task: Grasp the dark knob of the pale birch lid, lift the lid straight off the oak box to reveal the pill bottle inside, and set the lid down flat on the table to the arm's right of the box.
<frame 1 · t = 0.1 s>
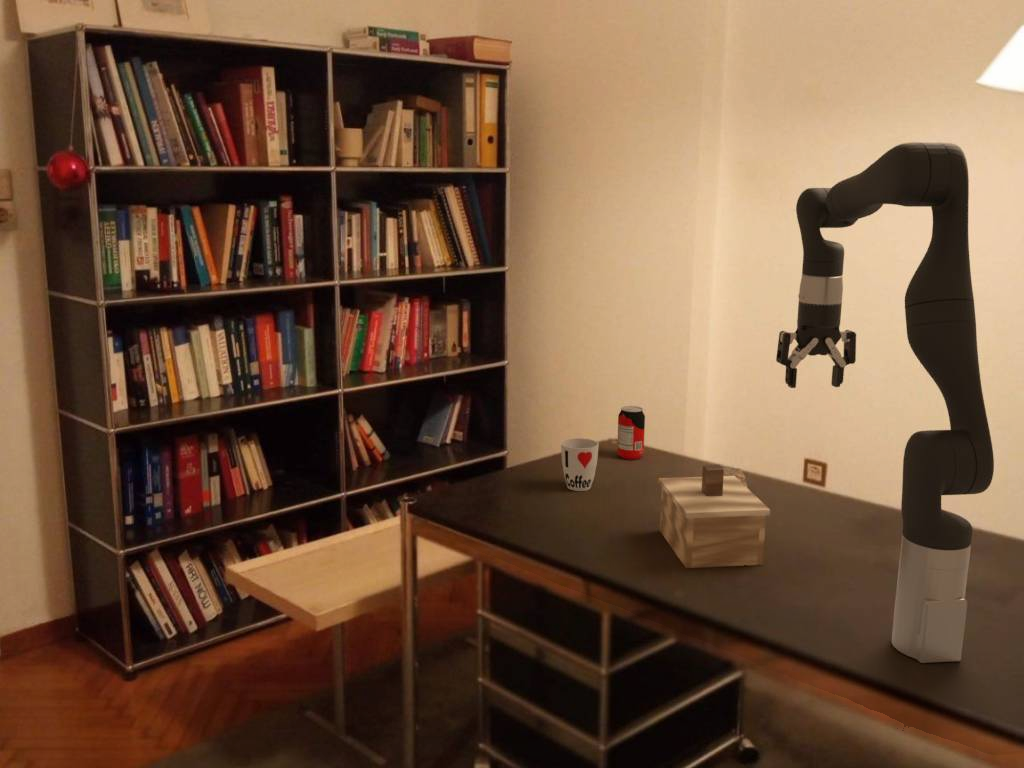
hand: (813, 386, 184), 29 cm above the table, fingers open, 8 cm apart
cup: (579, 488, 218), on the table
beverage can: (630, 457, 240), on the table
rock: (728, 492, 216), on the table
pill bottle: (702, 540, 189), resting in box
box: (709, 546, 185), on the table
lid: (711, 498, 183), point 9 cm above the table, touching box
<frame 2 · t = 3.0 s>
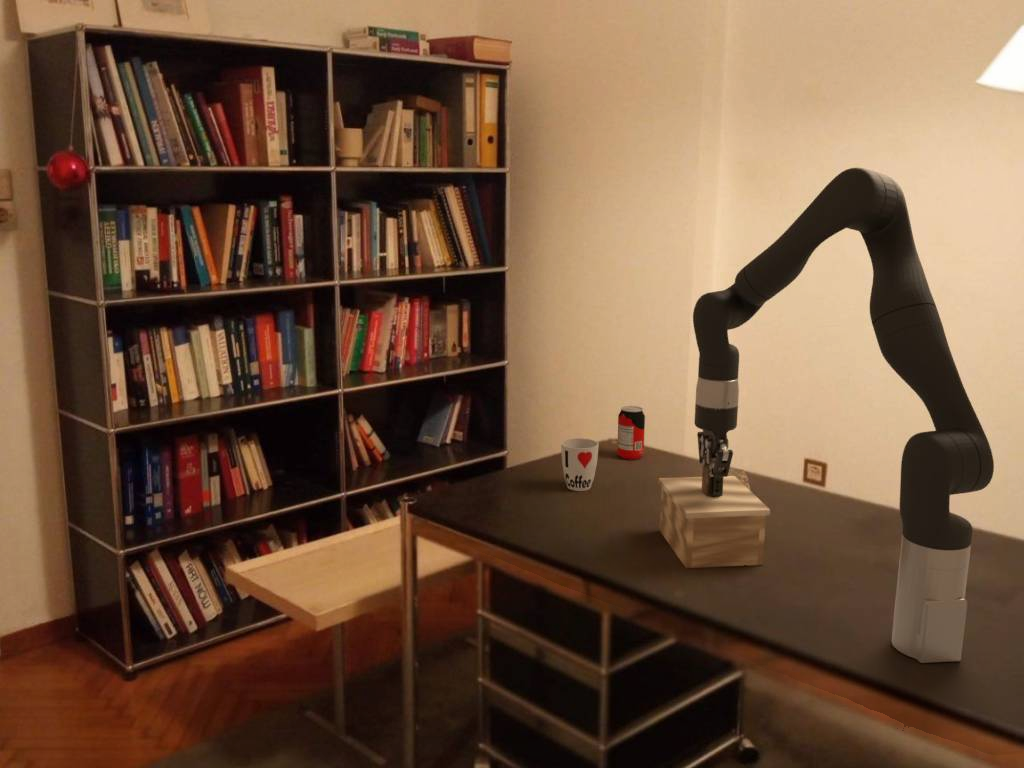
hand: (711, 492, 182), 11 cm above the table, fingers closed on lid, 3 cm apart
lid: (711, 498, 183), point 10 cm above the table, touching box, gripper
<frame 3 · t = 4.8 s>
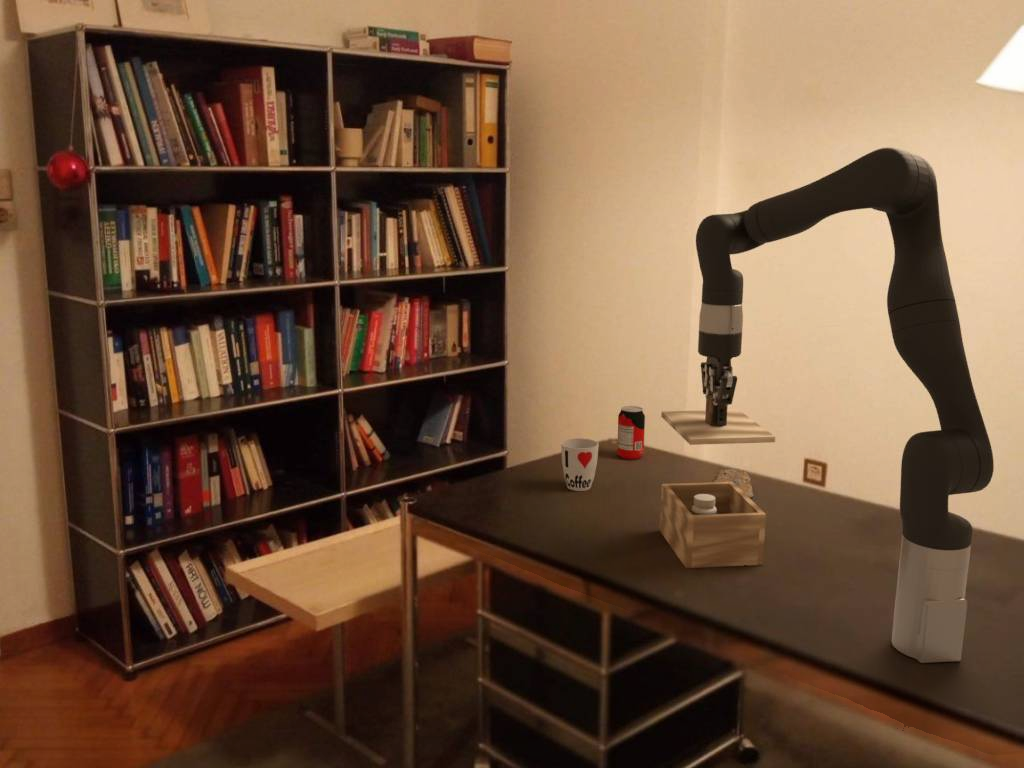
hand: (715, 422, 179), 24 cm above the table, fingers closed on lid, 3 cm apart
lid: (715, 428, 180), point 23 cm above the table, touching gripper
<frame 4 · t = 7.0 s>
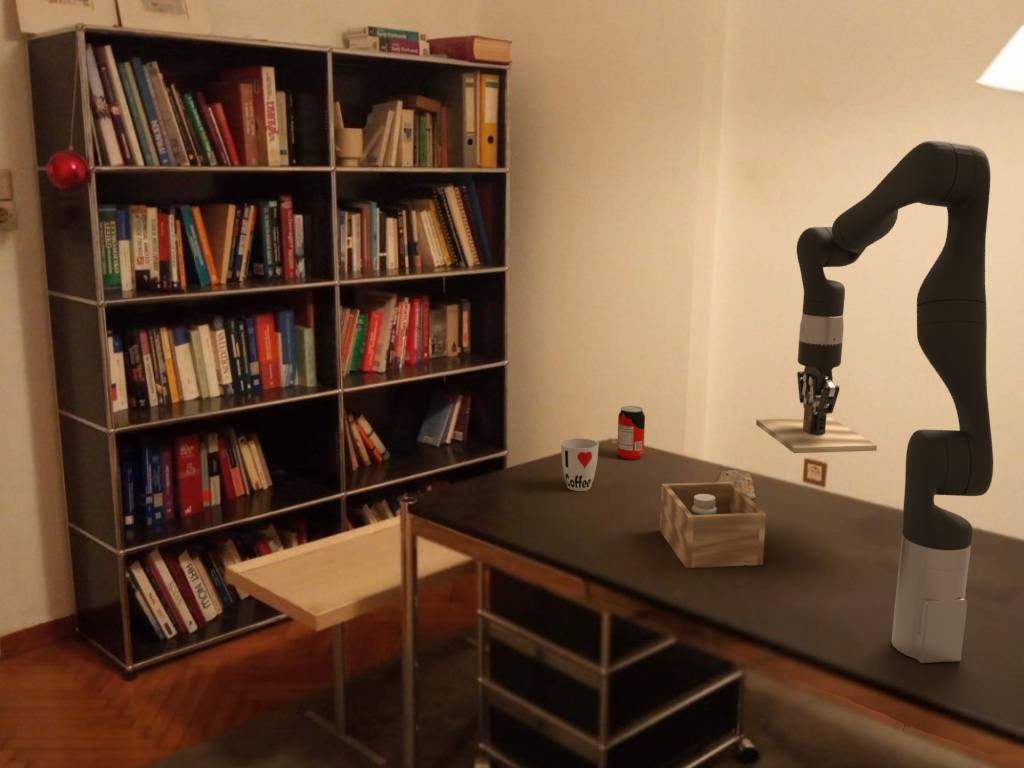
hand: (813, 430, 183), 22 cm above the table, fingers closed on lid, 3 cm apart
lid: (813, 437, 183), point 20 cm above the table, touching gripper
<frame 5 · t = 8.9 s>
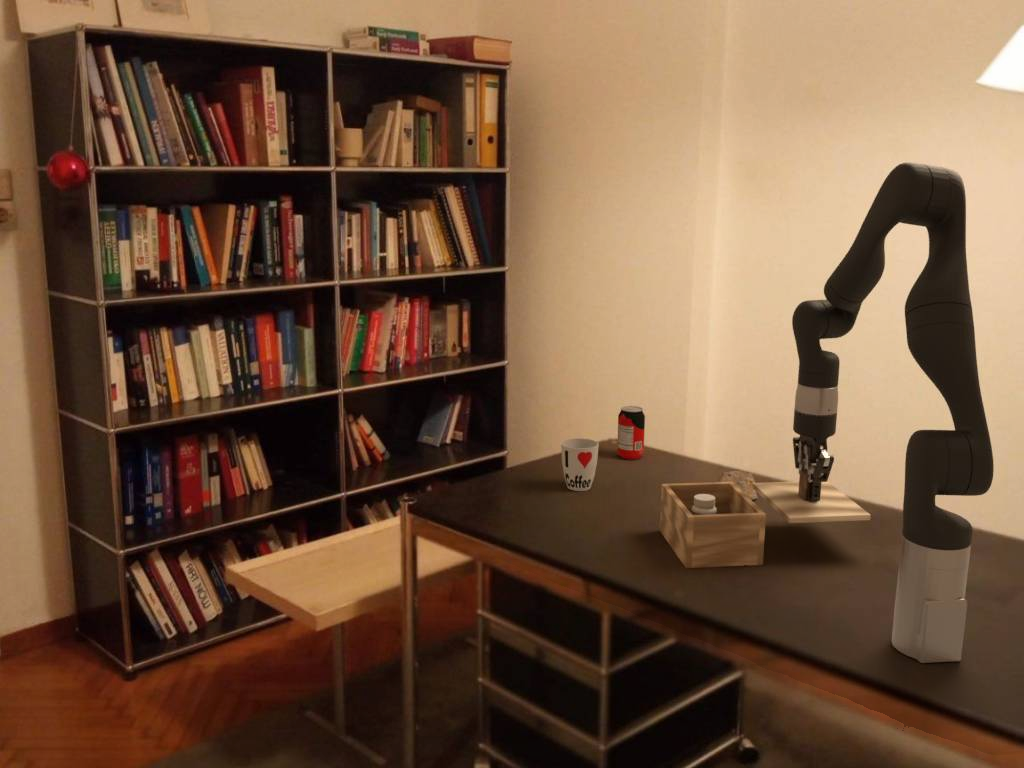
hand: (809, 497, 186), 9 cm above the table, fingers closed on lid, 3 cm apart
lid: (808, 503, 186), point 8 cm above the table, touching gripper
when the fingers open (2 cm above the table, at t = 10.6 s): lid drops 2 cm, on the table.
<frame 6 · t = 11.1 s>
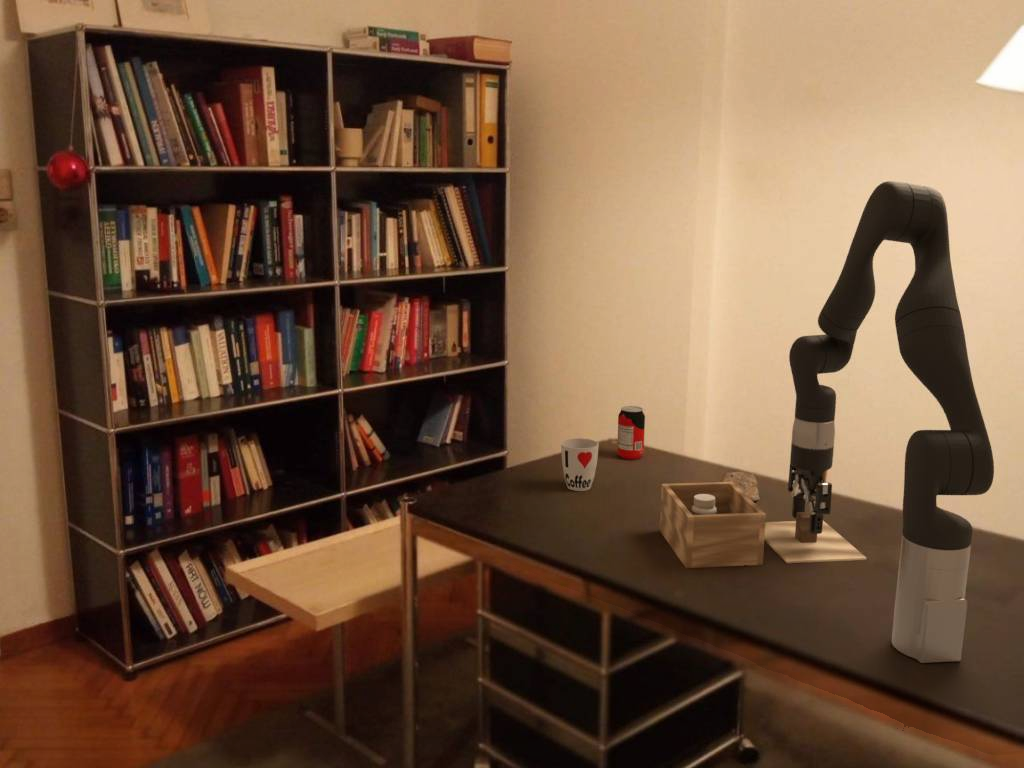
hand: (806, 525, 187), 3 cm above the table, fingers open, 8 cm apart
lid: (805, 544, 188), on the table
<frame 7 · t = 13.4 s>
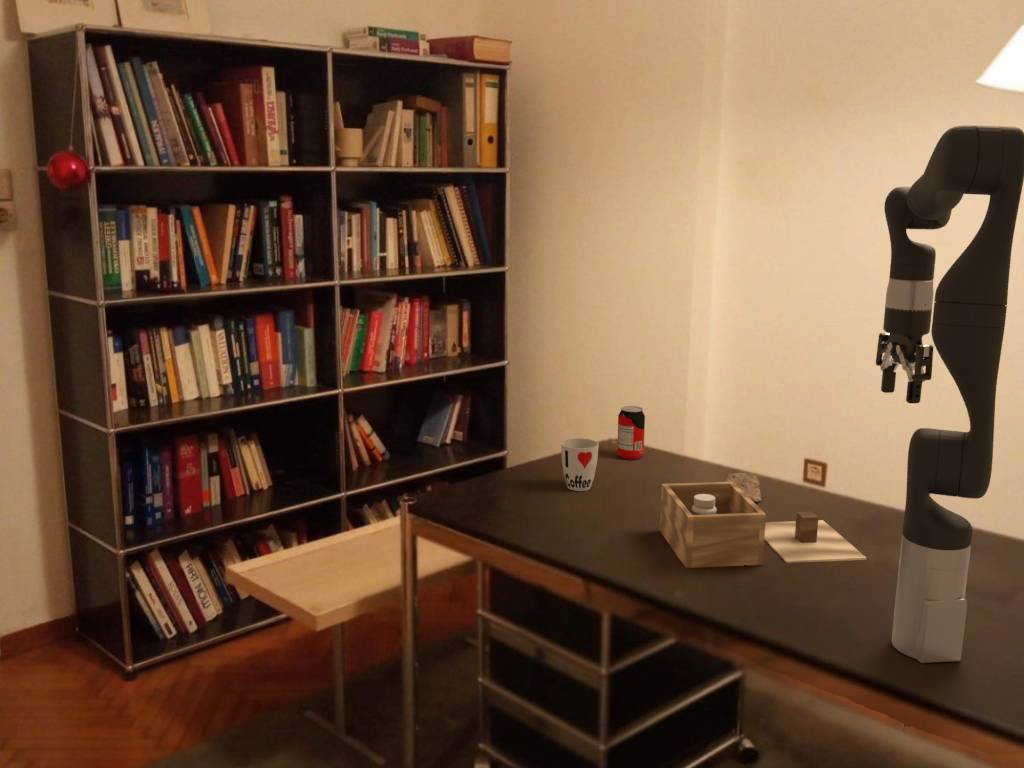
hand: (899, 397, 174), 30 cm above the table, fingers open, 8 cm apart
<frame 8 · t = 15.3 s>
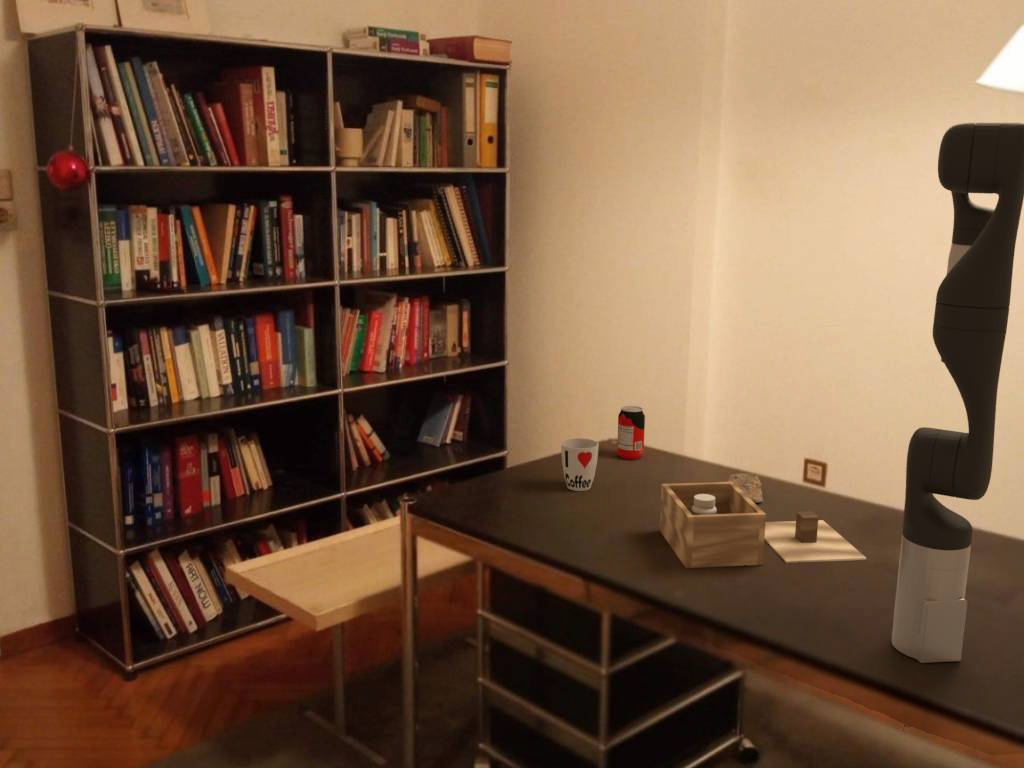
hand: (961, 367, 168), 36 cm above the table, fingers open, 8 cm apart
at the end: lid inside the target area (0.1 cm from its centre), on the table; lid tilted 0°; lid touching table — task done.
